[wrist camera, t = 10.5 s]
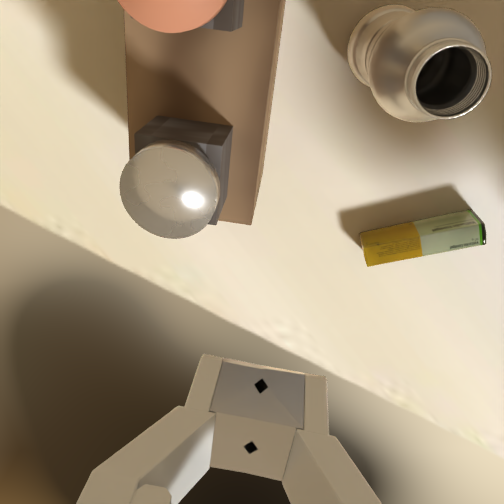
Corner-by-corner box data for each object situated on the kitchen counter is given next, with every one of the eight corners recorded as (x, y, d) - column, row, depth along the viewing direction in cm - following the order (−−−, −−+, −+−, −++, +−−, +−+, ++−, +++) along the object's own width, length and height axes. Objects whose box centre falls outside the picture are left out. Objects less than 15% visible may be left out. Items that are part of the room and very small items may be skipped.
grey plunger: (234, 126, 30) (219, 155, 24) (227, 204, 33) (212, 244, 27) (150, 115, 30) (116, 140, 24) (151, 193, 33) (121, 231, 28)
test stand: (297, -88, 34) (294, -156, 19) (262, 174, 45) (244, 256, 30) (173, -104, 34) (77, -182, 19) (169, 160, 45) (107, 236, 31)
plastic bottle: (351, 1, 36) (396, 1, 19) (431, 6, 36) (550, 11, 19) (339, 81, 40) (368, 142, 22) (412, 87, 39) (498, 153, 22)
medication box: (472, 206, 45) (486, 222, 41) (474, 228, 46) (488, 245, 42) (358, 231, 48) (362, 248, 44) (362, 251, 49) (366, 269, 45)
